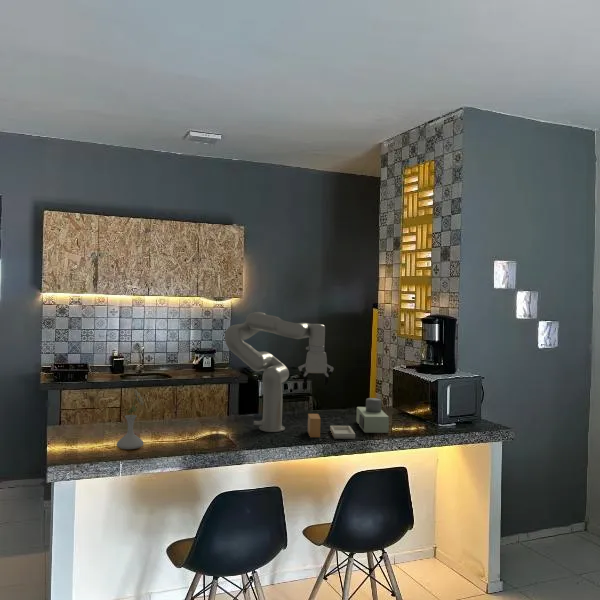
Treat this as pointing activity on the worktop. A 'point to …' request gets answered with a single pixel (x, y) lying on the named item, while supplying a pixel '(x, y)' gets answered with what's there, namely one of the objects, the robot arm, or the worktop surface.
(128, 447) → the flower in vase
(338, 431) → the frame
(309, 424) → the chute block
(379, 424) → the block with top knob
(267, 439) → the worktop surface
